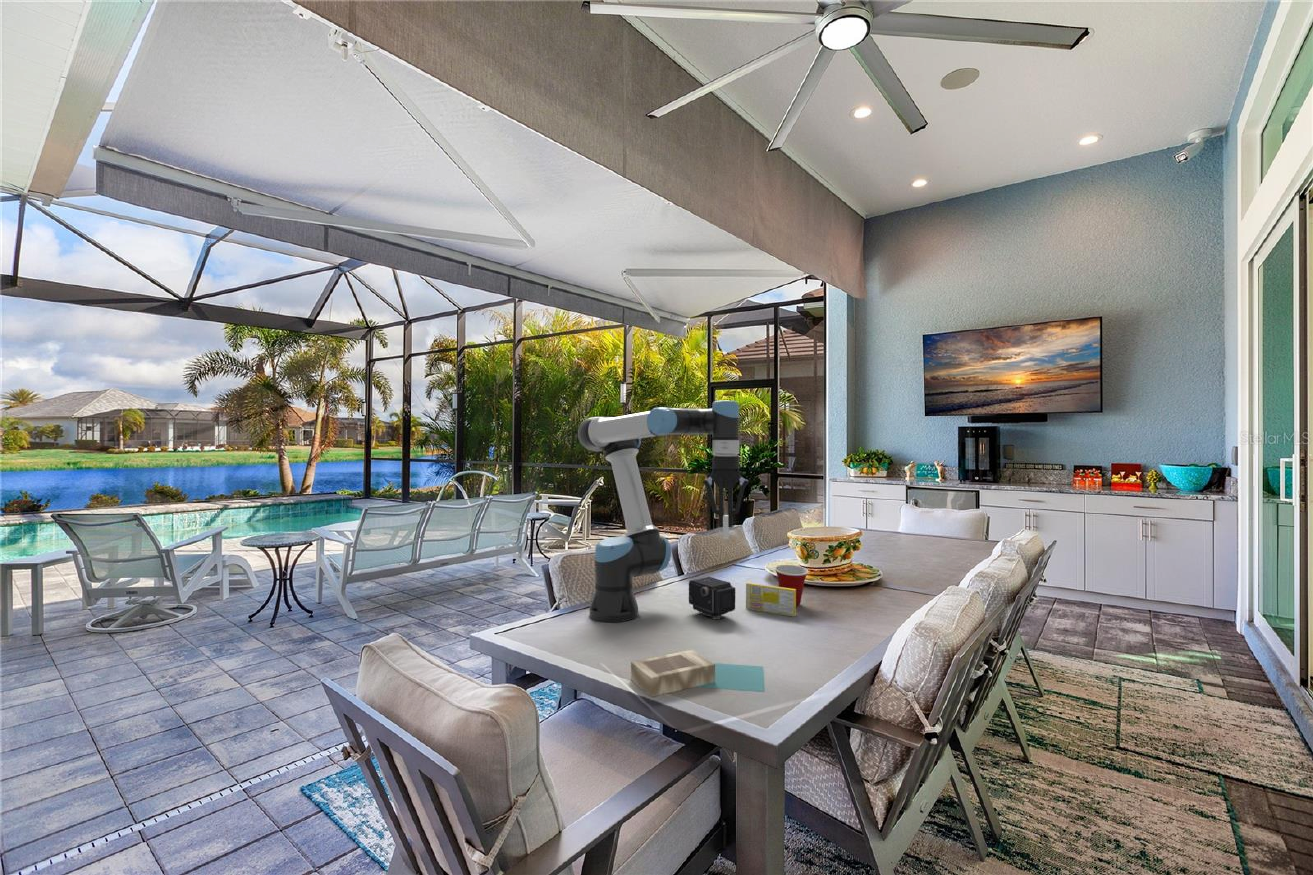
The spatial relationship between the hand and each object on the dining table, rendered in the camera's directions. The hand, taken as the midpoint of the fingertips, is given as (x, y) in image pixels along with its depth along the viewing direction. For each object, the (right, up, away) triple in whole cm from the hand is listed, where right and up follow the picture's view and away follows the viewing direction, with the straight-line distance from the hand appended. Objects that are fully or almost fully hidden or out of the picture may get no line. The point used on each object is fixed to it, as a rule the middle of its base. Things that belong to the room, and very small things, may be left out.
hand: (725, 538), depth 167 cm
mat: (-8, -27, -32) cm, 42 cm away
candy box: (+16, -27, +19) cm, 36 cm away
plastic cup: (+25, -27, +26) cm, 45 cm away
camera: (-3, -27, +15) cm, 30 cm away
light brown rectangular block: (-9, -24, -31) cm, 40 cm away
